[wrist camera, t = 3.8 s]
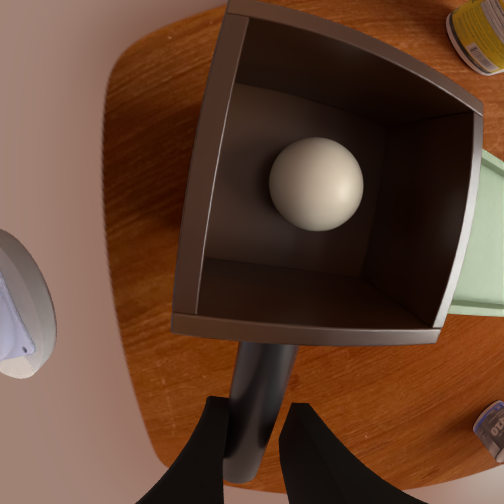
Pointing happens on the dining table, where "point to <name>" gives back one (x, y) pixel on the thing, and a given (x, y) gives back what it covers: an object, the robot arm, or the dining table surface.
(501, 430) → the pill bottle
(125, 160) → the dining table surface
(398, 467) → the dining table surface
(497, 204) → the tray
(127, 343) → the dining table surface
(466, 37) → the supplement bottle
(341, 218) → the ball
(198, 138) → the brown rectangular box
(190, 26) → the dining table surface
